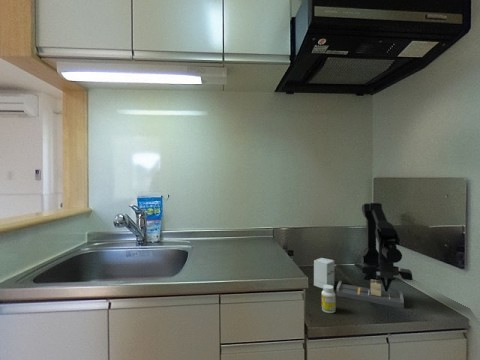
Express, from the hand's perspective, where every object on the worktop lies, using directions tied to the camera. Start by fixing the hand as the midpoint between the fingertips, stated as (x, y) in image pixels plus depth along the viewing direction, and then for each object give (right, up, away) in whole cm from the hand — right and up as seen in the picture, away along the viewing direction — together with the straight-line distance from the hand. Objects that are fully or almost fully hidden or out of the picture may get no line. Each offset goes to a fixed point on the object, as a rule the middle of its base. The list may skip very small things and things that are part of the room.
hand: (386, 291), depth 115 cm
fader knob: (-4, -2, +2) cm, 4 cm away
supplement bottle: (-28, -5, -8) cm, 29 cm away
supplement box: (-22, -4, +16) cm, 27 cm away
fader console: (-6, -4, +3) cm, 8 cm away
